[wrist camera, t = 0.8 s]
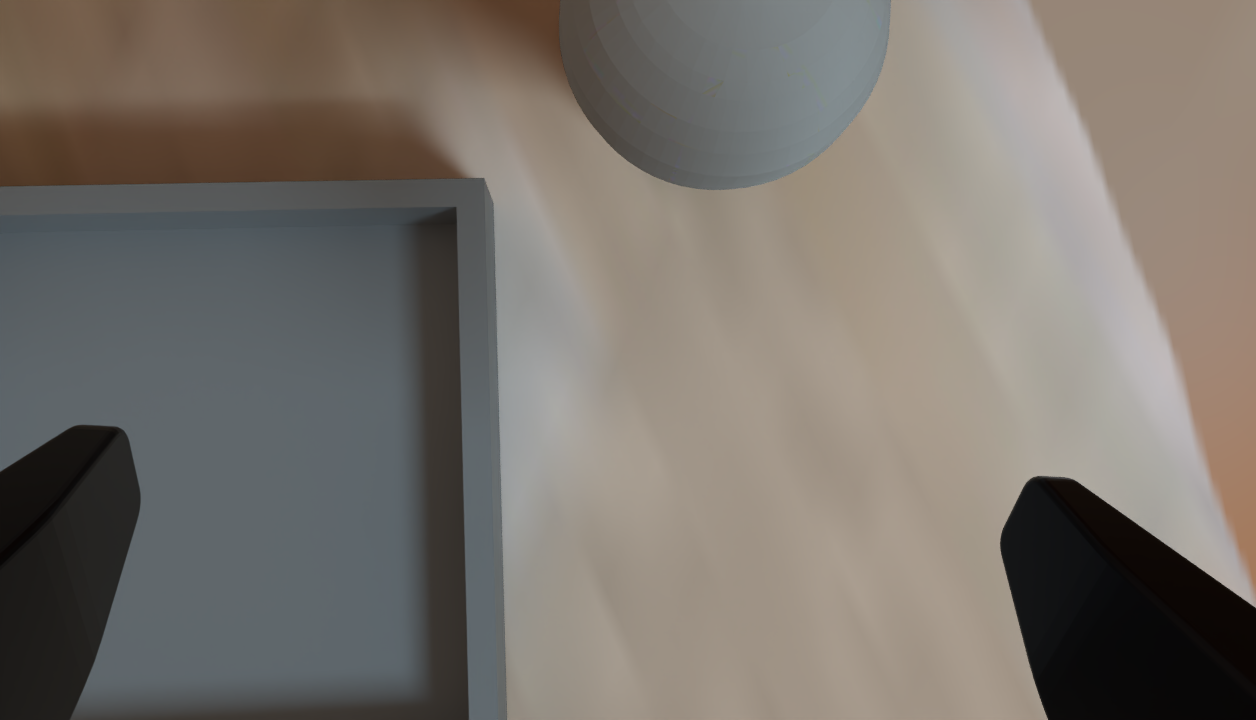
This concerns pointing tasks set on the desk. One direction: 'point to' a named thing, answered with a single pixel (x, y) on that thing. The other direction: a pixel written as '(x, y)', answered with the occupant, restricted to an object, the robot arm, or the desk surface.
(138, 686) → the tray
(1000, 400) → the desk surface
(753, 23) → the light bulb
